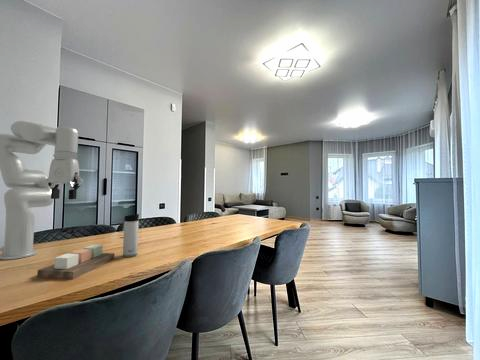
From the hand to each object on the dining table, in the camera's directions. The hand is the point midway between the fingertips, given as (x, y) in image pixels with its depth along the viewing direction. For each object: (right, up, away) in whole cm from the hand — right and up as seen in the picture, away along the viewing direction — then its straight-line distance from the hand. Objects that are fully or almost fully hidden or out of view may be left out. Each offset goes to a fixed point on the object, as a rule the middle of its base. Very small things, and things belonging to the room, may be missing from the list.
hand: (63, 198), depth 90 cm
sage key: (+9, -26, +5) cm, 27 cm away
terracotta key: (+8, -25, -2) cm, 27 cm away
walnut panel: (+8, -28, -2) cm, 29 cm away
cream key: (+8, -25, -8) cm, 28 cm away
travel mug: (+21, -29, +14) cm, 38 cm away
